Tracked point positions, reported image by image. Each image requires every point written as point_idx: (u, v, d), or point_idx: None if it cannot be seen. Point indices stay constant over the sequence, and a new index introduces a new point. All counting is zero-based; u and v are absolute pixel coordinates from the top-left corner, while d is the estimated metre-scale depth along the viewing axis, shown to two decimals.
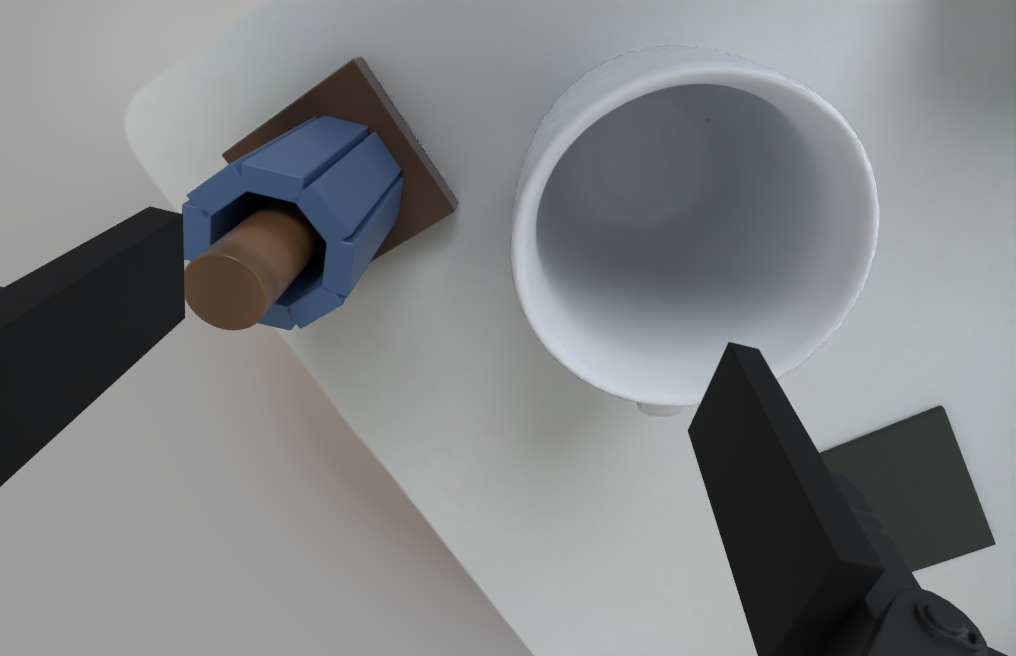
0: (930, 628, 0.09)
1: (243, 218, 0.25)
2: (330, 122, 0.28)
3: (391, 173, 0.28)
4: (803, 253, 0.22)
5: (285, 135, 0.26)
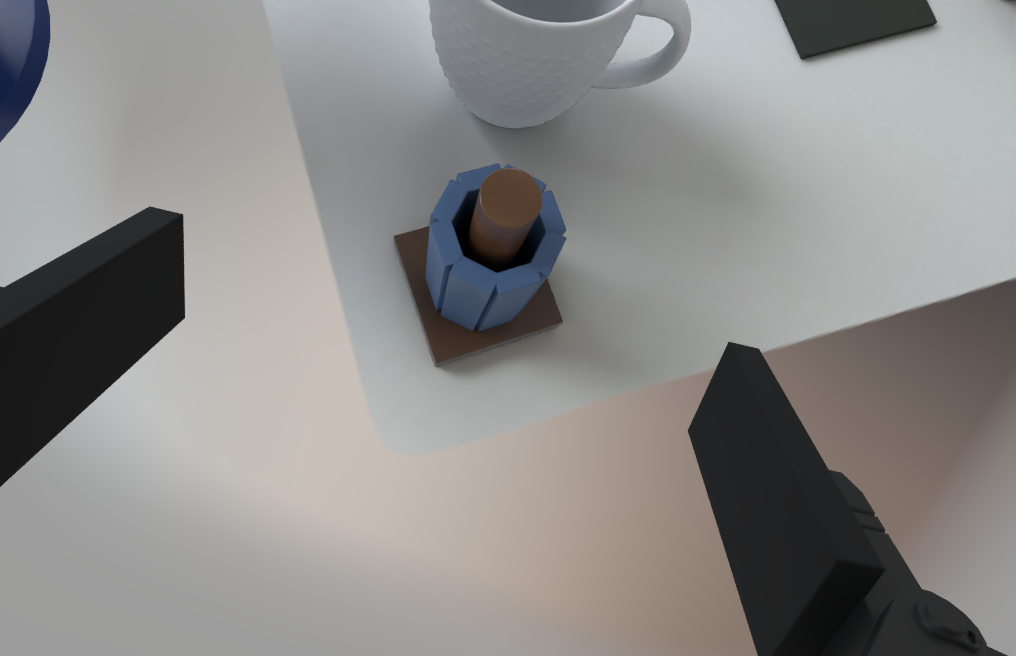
0: (930, 628, 0.09)
1: None
2: None
3: None
4: None
5: (428, 256, 0.34)
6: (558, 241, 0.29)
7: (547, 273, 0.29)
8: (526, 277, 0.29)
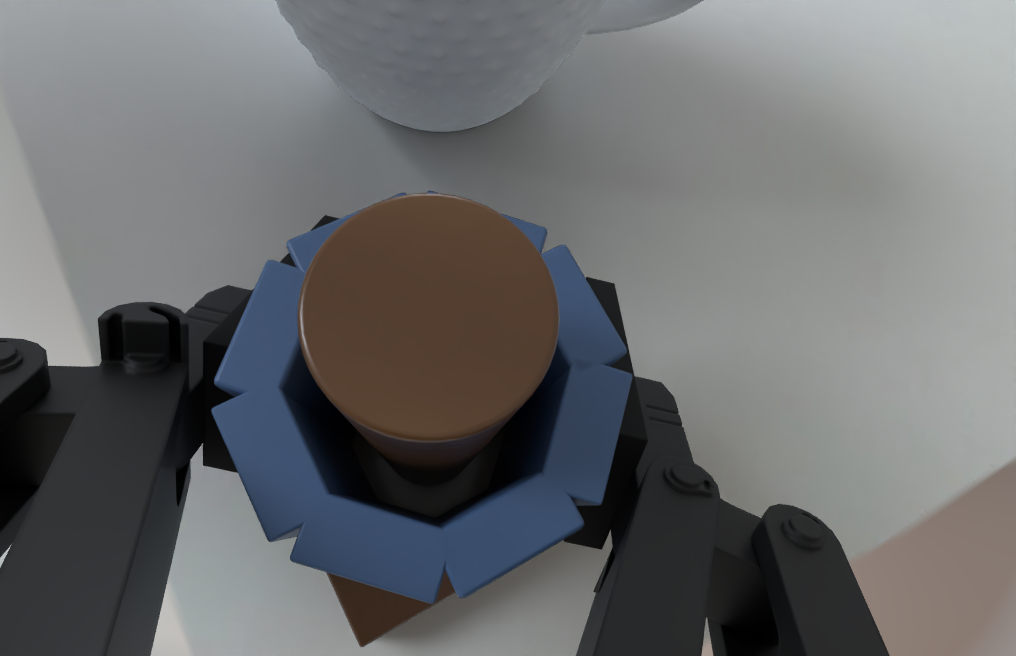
0: (676, 487, 0.10)
1: (405, 512, 0.12)
2: None
3: None
4: None
5: None
6: (612, 390, 0.10)
7: (598, 498, 0.09)
8: (536, 524, 0.09)
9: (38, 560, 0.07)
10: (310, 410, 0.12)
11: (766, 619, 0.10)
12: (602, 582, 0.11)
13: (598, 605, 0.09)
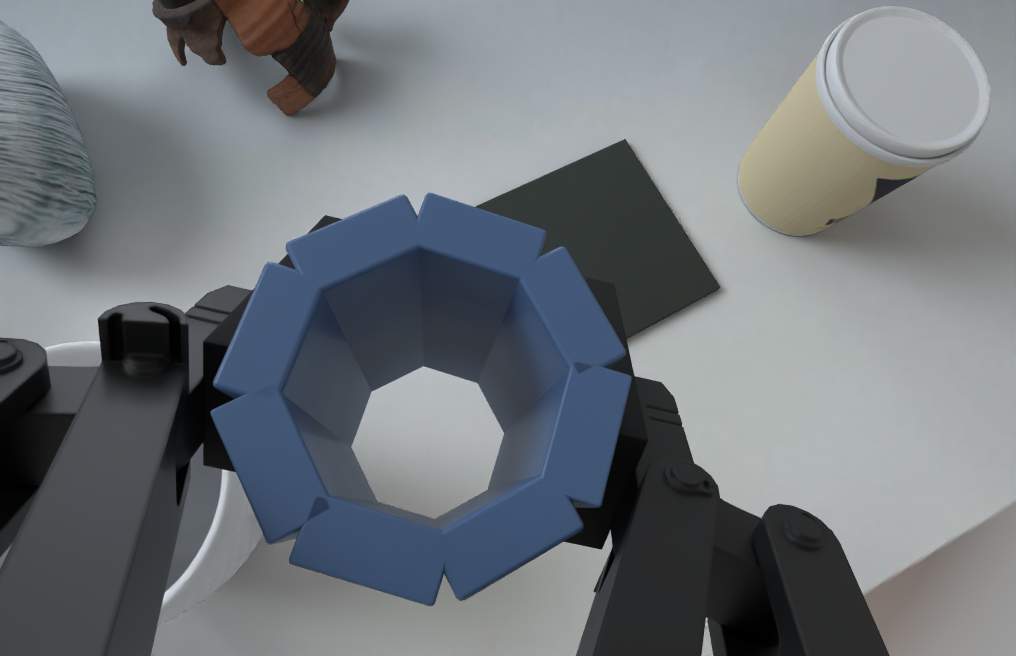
0: (676, 487, 0.10)
1: (404, 515, 0.12)
2: None
3: None
4: None
5: None
6: (611, 392, 0.10)
7: (597, 500, 0.09)
8: (536, 526, 0.09)
9: (38, 560, 0.07)
10: (309, 412, 0.12)
11: (766, 619, 0.10)
12: (602, 582, 0.11)
13: (598, 605, 0.09)
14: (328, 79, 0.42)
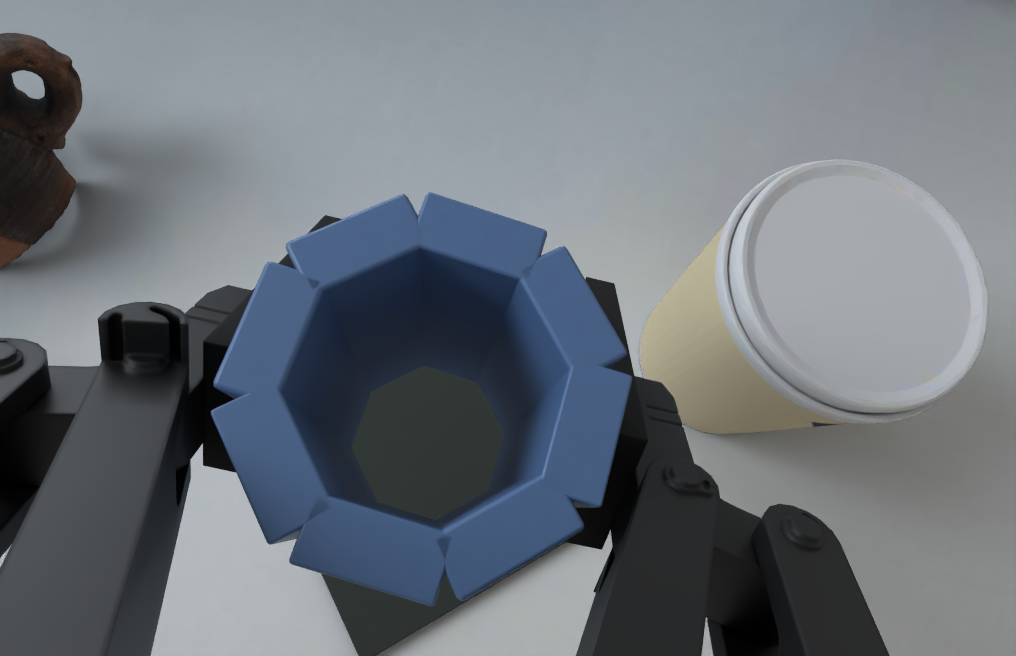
0: (676, 487, 0.10)
1: (404, 515, 0.12)
2: None
3: None
4: None
5: None
6: (611, 392, 0.10)
7: (598, 500, 0.09)
8: (536, 526, 0.09)
9: (38, 560, 0.07)
10: (310, 412, 0.11)
11: (766, 619, 0.10)
12: (602, 582, 0.11)
13: (598, 605, 0.09)
14: (54, 217, 0.30)
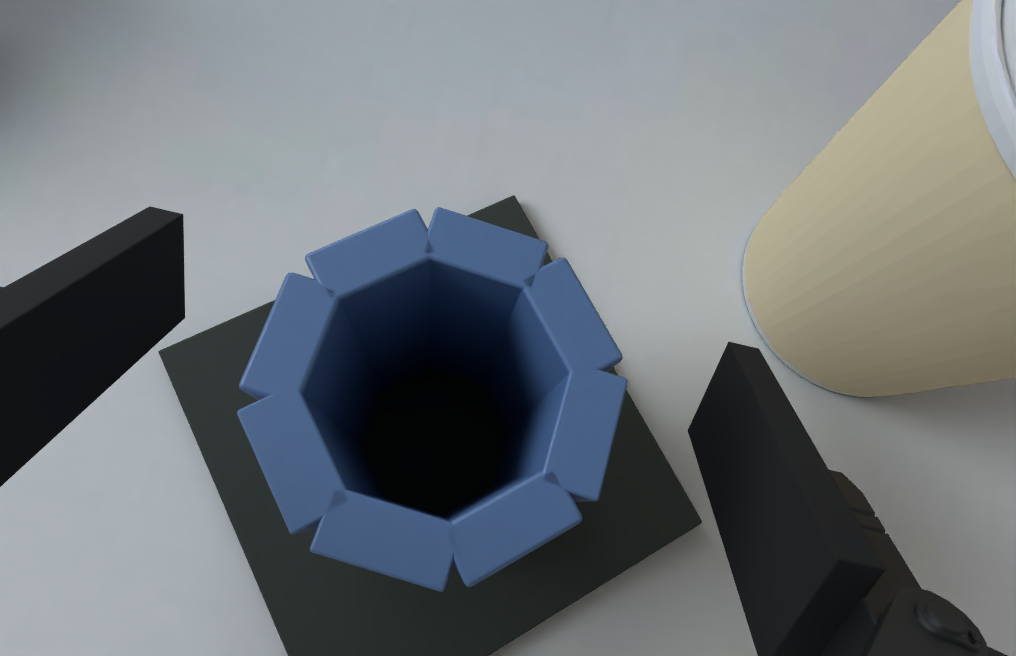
0: (930, 628, 0.09)
1: None
2: None
3: None
4: None
5: None
6: (608, 394, 0.11)
7: (595, 494, 0.10)
8: (538, 518, 0.10)
9: None
10: (325, 412, 0.12)
11: None
12: None
13: None
14: None
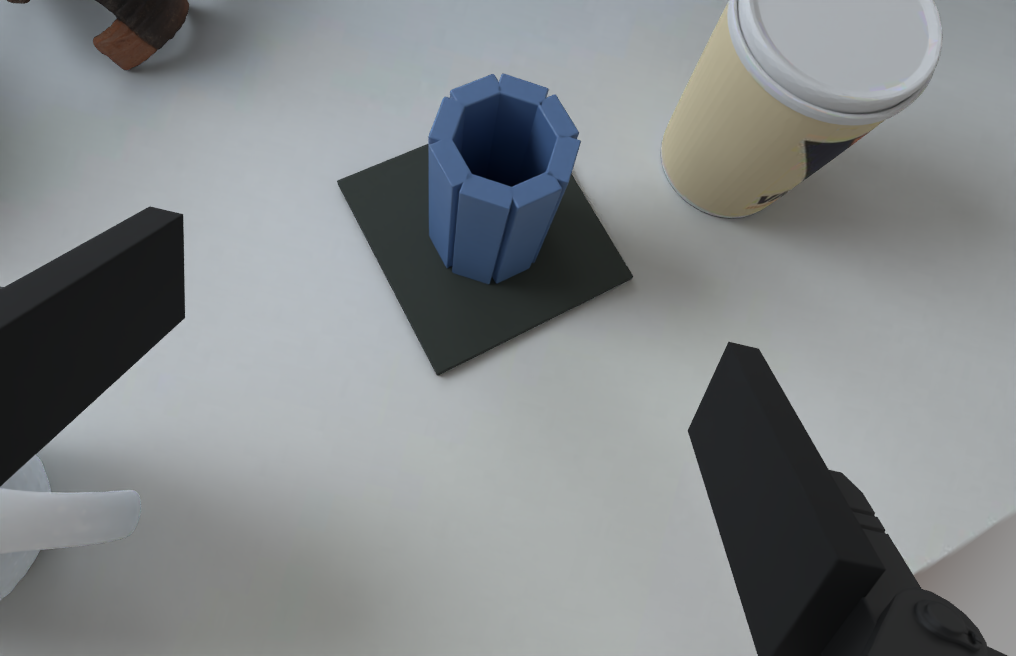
0: (930, 628, 0.09)
1: None
2: None
3: None
4: None
5: (430, 200, 0.31)
6: (572, 145, 0.27)
7: (567, 180, 0.26)
8: (544, 187, 0.26)
9: None
10: None
11: None
12: None
13: None
14: (175, 28, 0.36)
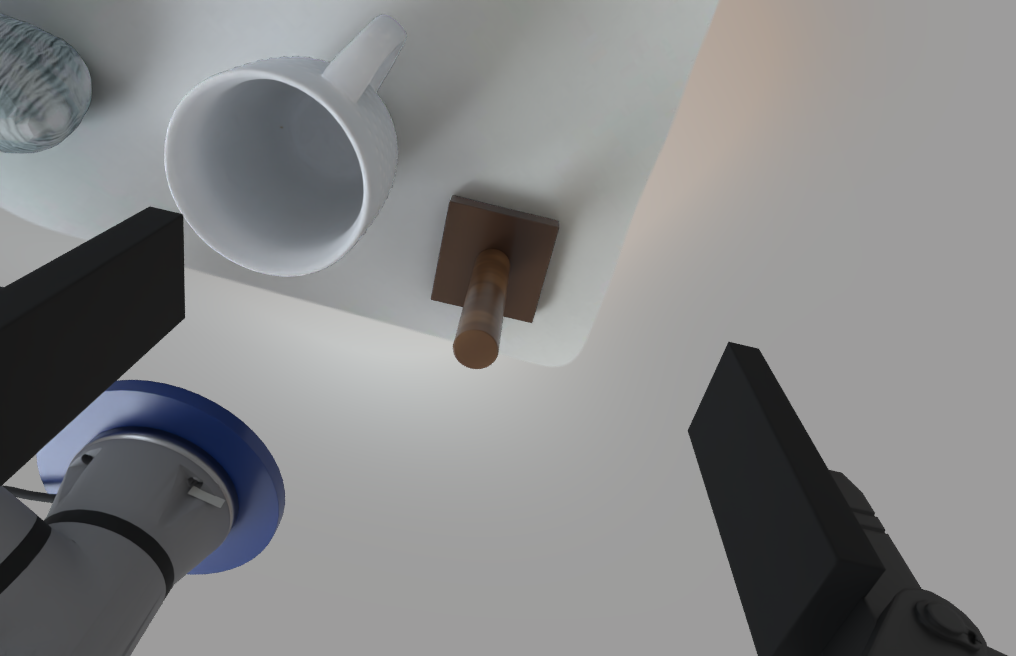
0: (930, 628, 0.09)
1: None
2: None
3: None
4: (229, 90, 0.34)
5: None
6: None
7: None
8: None
9: None
10: None
11: None
12: None
13: None
14: None
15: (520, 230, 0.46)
